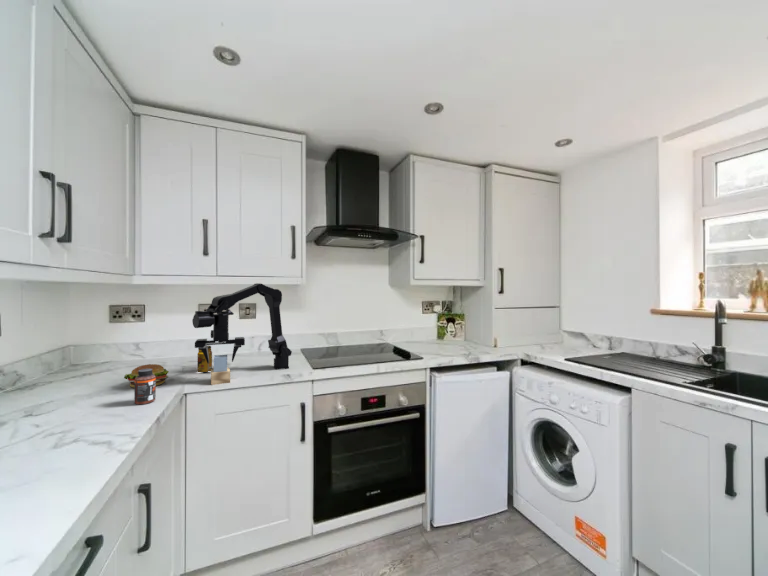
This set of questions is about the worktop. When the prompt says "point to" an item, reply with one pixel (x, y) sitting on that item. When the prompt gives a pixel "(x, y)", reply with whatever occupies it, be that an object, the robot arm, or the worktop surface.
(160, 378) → the food
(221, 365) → the blue block
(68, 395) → the worktop surface
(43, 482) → the worktop surface
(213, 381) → the tan block
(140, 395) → the supplement bottle
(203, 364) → the condiment
